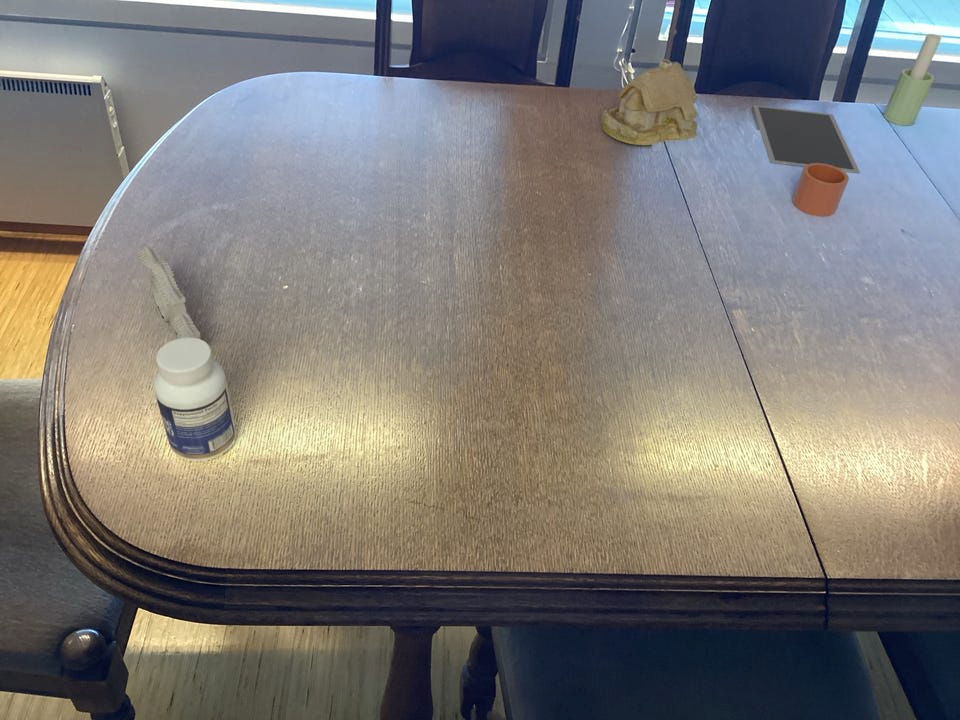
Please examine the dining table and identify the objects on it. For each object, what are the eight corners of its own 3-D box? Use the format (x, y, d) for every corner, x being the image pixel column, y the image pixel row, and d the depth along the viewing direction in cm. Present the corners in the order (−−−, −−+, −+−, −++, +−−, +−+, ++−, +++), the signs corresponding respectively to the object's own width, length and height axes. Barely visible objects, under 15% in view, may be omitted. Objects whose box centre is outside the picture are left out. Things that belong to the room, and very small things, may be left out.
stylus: (904, 112, 127) (939, 34, 119) (908, 118, 125) (943, 39, 117) (891, 111, 127) (925, 33, 119) (894, 116, 125) (929, 38, 117)
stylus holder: (829, 200, 106) (843, 165, 102) (838, 222, 102) (853, 187, 98) (787, 195, 106) (800, 160, 103) (794, 217, 102) (808, 182, 99)
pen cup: (909, 114, 128) (929, 70, 123) (917, 127, 124) (938, 82, 120) (879, 110, 128) (898, 66, 123) (887, 123, 125) (906, 79, 120)
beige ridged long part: (206, 356, 76) (196, 306, 72) (187, 363, 75) (175, 313, 71) (165, 287, 83) (153, 238, 79) (147, 292, 82) (134, 243, 78)
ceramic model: (657, 104, 124) (672, 38, 117) (712, 135, 117) (731, 67, 111) (587, 124, 117) (599, 54, 111) (641, 157, 111) (657, 86, 104)
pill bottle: (171, 421, 70) (148, 334, 63) (236, 414, 71) (220, 327, 64) (168, 469, 66) (143, 381, 59) (237, 460, 67) (220, 374, 60)
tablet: (830, 119, 124) (832, 113, 124) (857, 177, 111) (860, 171, 110) (751, 109, 125) (753, 104, 124) (768, 166, 112) (770, 161, 111)
